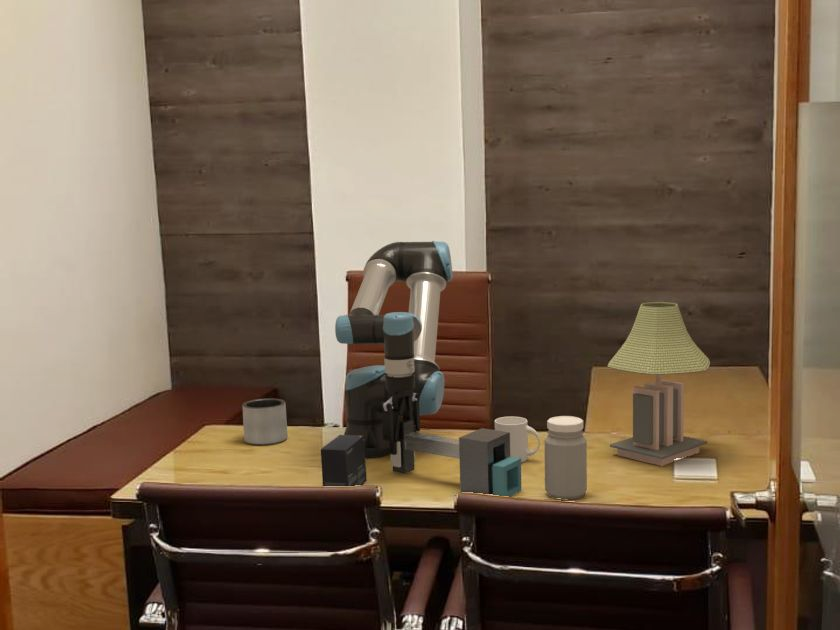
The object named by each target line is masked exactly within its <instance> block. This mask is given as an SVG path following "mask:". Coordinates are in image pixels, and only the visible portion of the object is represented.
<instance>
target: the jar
mask: <svg viewBox="0 0 840 630" xmlns="http://www.w3.org/2000/svg"><path fill="white" fill-rule="evenodd" d="M546 426H547V427H546V429H548V431H547V432H546V433H547V436H546V438H545V439H544V441H543V443H544V490H545V491H546V493H547V494H548V495H549V497H551V498H553V499H556V498H561V499H560V500H562V499H572V500H577V499H580V498H582V497H583V496H584V495H585V494H586V492H587V491H588V490H587V489H588V485H587V484H588V481H587V480H588V477H587V476H588V475H587V474H588V470H587V469H588V468H587V467H588V466H587V465H588V463H587V461H588V460H587V459H588V456H587V455H588V454H587V453H588V452H587V451H588V450H587V439H586V437H585V436H584V431H583V429H584V420H583V419H582V418H580V417H577V416H572V415H559V416H553V417H550V418H549V419H548V420H546Z"/></svg>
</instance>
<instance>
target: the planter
mask: <svg viewBox="0 0 840 630" xmlns="http://www.w3.org/2000/svg"><path fill="white" fill-rule="evenodd" d="M286 407H287V405H286V400H284V399H280V398H274V397H273V398H269V397H268V398H257V399H252V400H247V401H245V402H243V403H242V423H243V425H242V426H243V427H242V428H243V440H244V442H245V443H247V444H250V445H253V446H270V445H275V444H276V445H277V444H279V443H282V442H284V441H285V440H287V438H288V423H287V408H286Z"/></svg>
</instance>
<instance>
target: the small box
mask: <svg viewBox="0 0 840 630" xmlns="http://www.w3.org/2000/svg"><path fill="white" fill-rule="evenodd" d="M320 457H321V458H320V462H321V463H320V464H321V475H322V487H323V486H355V485H362V486H363V485H364V484H365V483H366V482H368V481H367V479H368V478H367V477H368V476H367V465H366V464H367V463H366V458H365V443H364V436H360V435H344V434H339V435H337V436H336V437H335V438H334V439H333V440H331V441H329V442H328V443H327V444H326V445H324V446H323V447H322V448H320Z"/></svg>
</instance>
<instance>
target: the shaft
mask: <svg viewBox="0 0 840 630" xmlns="http://www.w3.org/2000/svg"><path fill="white" fill-rule="evenodd" d="M398 441H399V442H400V447H401V467H395V466H391V467H392V472H393V473H399V474H405V475H406V474H408V473H411V472H412V471H415V470H416V469H415V461H414V451H415V452H419V453H424V454H430V455H435V456H442V457H447V458H453V459H457V460H460V458H459V438H452V437H445V436H439V435H434V434H433V435H432V434H427V433H421V432H419V433H416V432H413V420H412V419H406V418H403V417H401V421H400V429H399V437H398Z"/></svg>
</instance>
